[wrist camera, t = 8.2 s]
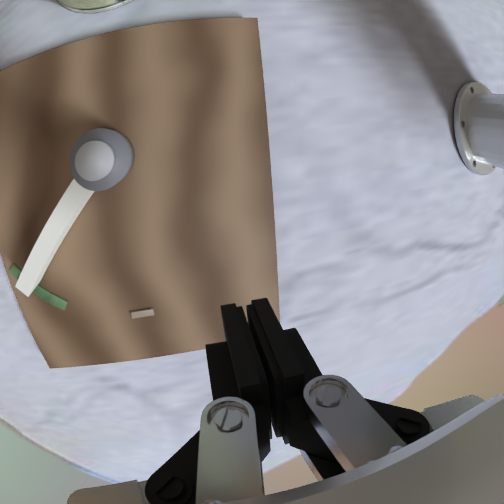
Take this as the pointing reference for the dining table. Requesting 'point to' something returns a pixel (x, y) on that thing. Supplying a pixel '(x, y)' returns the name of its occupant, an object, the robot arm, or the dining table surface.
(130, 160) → the dial needle
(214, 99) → the dial plate
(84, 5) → the coffee can
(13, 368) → the dining table surface
